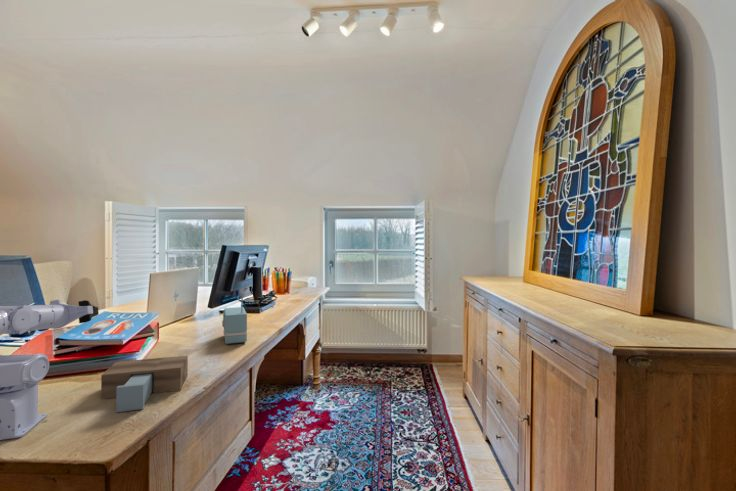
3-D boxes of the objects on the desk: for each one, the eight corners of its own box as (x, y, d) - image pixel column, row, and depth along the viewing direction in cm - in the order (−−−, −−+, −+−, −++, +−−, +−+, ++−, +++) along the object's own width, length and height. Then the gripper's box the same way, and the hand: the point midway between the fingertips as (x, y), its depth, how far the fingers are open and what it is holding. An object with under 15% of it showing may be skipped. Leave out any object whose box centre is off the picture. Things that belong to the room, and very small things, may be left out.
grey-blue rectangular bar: (143, 408, 81) (143, 384, 81) (116, 412, 79) (116, 387, 79) (161, 381, 97) (161, 360, 97) (139, 383, 95) (139, 362, 95)
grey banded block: (221, 336, 145) (221, 289, 145) (243, 333, 149) (243, 288, 149) (222, 346, 131) (222, 294, 130) (246, 343, 134) (247, 293, 134)
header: (180, 390, 92) (180, 367, 92) (101, 399, 86) (101, 374, 86) (187, 376, 101) (187, 355, 101) (116, 383, 96) (116, 361, 96)
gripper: (73, 294, 81) (108, 294, 94) (4, 307, 79) (50, 305, 92) (76, 323, 80) (111, 319, 93) (7, 337, 78) (53, 331, 91)
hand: (81, 314), depth 93 cm, fingers open, 7 cm apart
